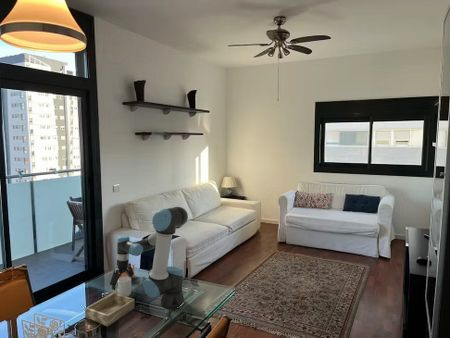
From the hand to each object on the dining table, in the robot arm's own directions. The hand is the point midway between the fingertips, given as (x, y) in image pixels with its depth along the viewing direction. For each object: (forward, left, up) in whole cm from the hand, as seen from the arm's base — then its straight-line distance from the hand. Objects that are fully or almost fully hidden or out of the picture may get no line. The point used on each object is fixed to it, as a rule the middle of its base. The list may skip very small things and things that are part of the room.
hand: (121, 290), depth 215 cm
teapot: (+13, -19, -3) cm, 23 cm away
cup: (0, 0, -3) cm, 3 cm away
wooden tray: (-11, +22, -3) cm, 25 cm away
